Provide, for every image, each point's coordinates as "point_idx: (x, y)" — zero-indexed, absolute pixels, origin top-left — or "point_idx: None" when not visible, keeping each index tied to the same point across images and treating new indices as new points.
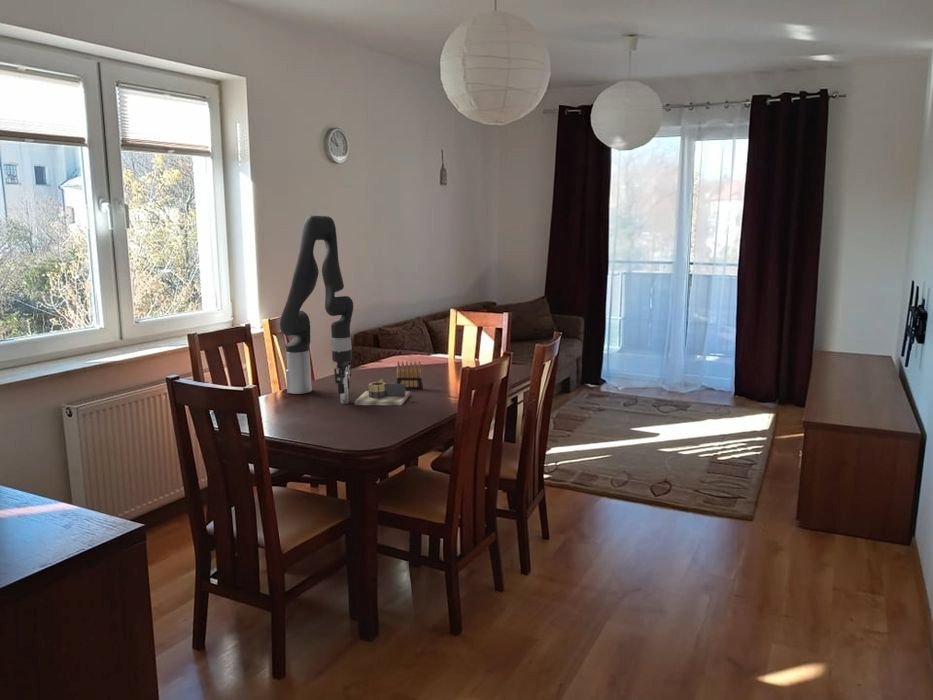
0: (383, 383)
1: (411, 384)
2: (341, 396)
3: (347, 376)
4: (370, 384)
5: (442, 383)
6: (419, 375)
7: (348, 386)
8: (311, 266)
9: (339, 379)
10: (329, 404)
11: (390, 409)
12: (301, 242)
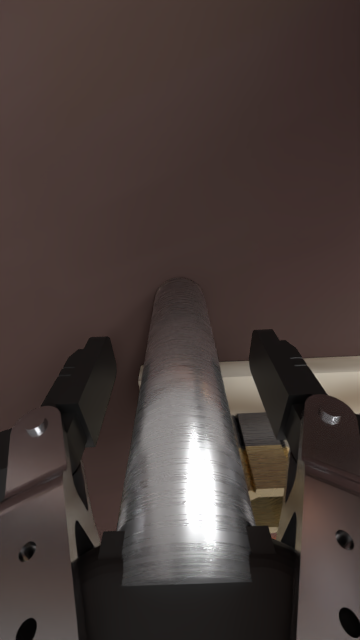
0: (270, 528)
1: None
2: (152, 316)
3: (285, 486)
4: (250, 496)
5: None
6: None
7: (254, 380)
8: None
9: (154, 429)
10: (122, 208)
11: (106, 476)
12: None
